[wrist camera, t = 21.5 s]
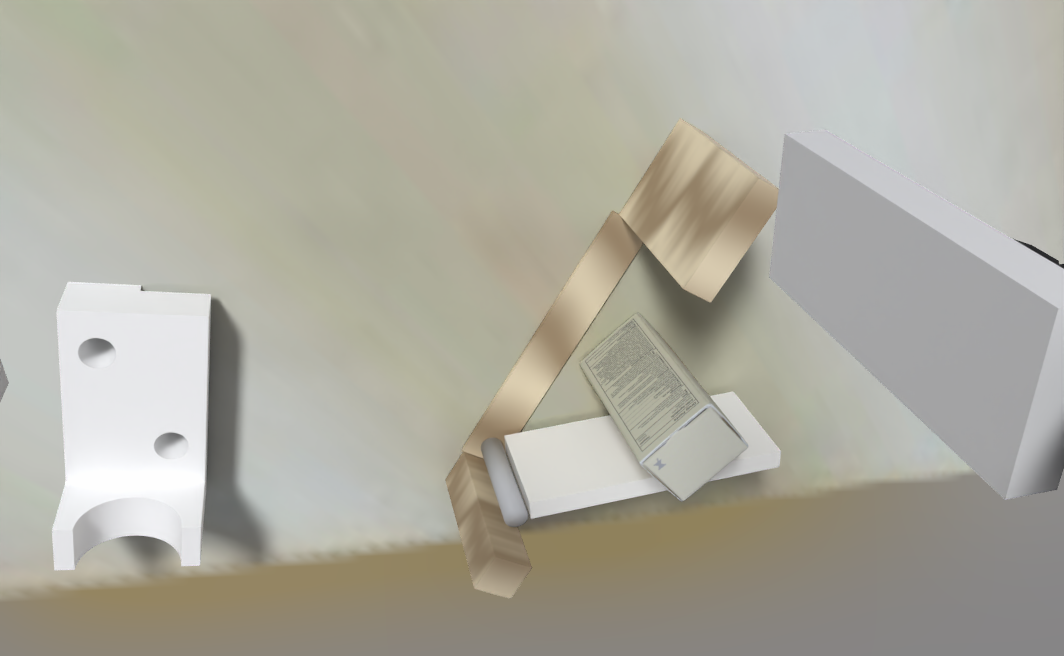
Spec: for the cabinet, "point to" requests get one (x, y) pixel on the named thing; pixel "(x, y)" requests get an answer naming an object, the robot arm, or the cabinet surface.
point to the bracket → (132, 418)
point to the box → (661, 408)
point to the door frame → (676, 241)
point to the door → (596, 464)
